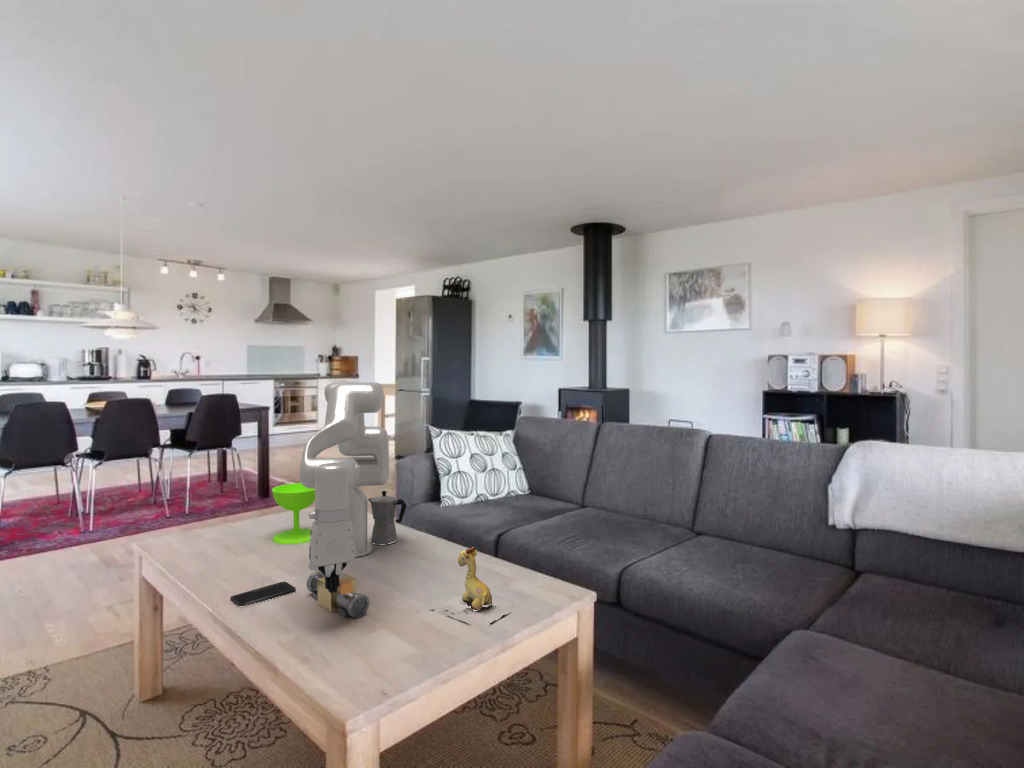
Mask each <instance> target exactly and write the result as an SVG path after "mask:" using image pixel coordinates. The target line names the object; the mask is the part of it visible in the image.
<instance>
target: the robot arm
mask: <svg viewBox="0 0 1024 768" xmlns="http://www.w3.org/2000/svg"><path fill="white" fill-rule="evenodd" d="M323 392H324V398H325V401H326V403H327V405H326V412H325V420H324V426H322V427H321V428H320V429H318V430H317V431H315V433H314V434H313V435H312V436H311V437H310V438H309V439H308V441H306V443H305V445H304V447H303V450H302V454H301V459H300V460H301V461H300V466H299V481H300V483H301V484H302V485H303V486H304V487H306V488H315V501H314V503H315V504H314V505H315V508H314V510H313V511H312V512H309V513H308V518H309V519H313V520H314V521H312V525H311V534H310V542H309V547H308V557H309V563H308V567H307V568H308V569H309V570H310V571H315V572H318V571H320V572H322V573H323V574H324V575H325V588H326V589H328V591H329V592H330V593H332V592H337V587H339V575H340V574H341V571H342V570H343V571H344V569H345V568H346V567H347V566H350V565H352V564H354V563H355V561H356V560H355V558H360V557H359V556H361V557H364V556H366V554H367V555H369V554H371V552H372V551H373V546H372V544H369V543H368V497H367V495H366V493H365V492H364V491H363V490H362V488H361V487H365V486H373V487H374V486H382V485H385V484H387V483H388V481H389V478H390V449H389V447H390V442H389V436H388V434H389V433H388V432H387V430H386V429H385V428H384V427H382V426H366V425H365V414H375V413H376V414H377V413H379V412H380V410H381V409H382V406H383V404H384V398H385V394H384V388H383V386H382V385H381V383H379V382H365V381H363V382H359V381H358V382H353V381H352V382H351V381H349V382H348V381H345V382H344V381H340V382H331V383H328V384H327V385H325V387H324V391H323ZM335 446H338V452H340V454H341V455H343V456H346V457H318V455H320V454H321V453H322V452H324V451H325V450H328V449H329V448H333V447H335ZM332 565H333V567H332V568H333V571H332V573H331V571H330V569H331V566H332Z"/></svg>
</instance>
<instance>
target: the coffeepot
mask: <svg viewBox="0 0 1024 768" xmlns="http://www.w3.org/2000/svg"><path fill="white" fill-rule="evenodd" d="M381 493H382V495H380V496H375V497H373V496H372V497H369V498H367V501H369V503H370V505H371V506H370V507H371V513H372V519H373V521H374V524H373V526H372V527H373V528H372V534H371V539H370V543H371V542H372V543H375V544H388V543H391V542H394V541H396V539H397V540H398V534H397V530H396V529H397V528H396V523H398V524H400V523H402V522H403V519H404V515H405V512H406V509H407V503H406V502H405V501H404V499H401V498H400V499H399V498H397V497H395V496H392V495H391V496H390V495H387V493H388V492H387V491H386V490H383V491H381ZM397 505H399V506H401V507H400V513H399V514H398V519H395V517H396V511H397ZM395 522H396V523H395ZM372 543H371V544H372Z"/></svg>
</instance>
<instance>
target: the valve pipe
mask: <svg viewBox="0 0 1024 768" xmlns="http://www.w3.org/2000/svg"><path fill="white" fill-rule="evenodd" d="M343 575H344V576H345V578H350V580H351V581H352V583H353V593H349V594H344V595H341V593H340V591H339V590H338V587H337V592H332V593H330V592H329V591H328V589H326V588H325V575H324V574H323V573H322V572H321V571H315V572H313V573H311V575H310V576H309V577H308V578H307V581H306V588H307V590H308V591H309V592H310V593H311V598H312V597H313V598H312V599H314V598H315V599H314V600H315V601H317V600H318V601H317V605H318V604H319V605H318V606H320V605H321V606H320V607H322V608H323V607H324V608H323V609H325V610H326V609H327V610H326V611H328V610H329V611H328V612H330V613H333V611H334V612H336V611H335V610H337V611H338V615H340V614H341V616H342V617H343V616H344V618H348V617H351V618H354V619H357V618H358V619H359V618H362V617H363V616H364V615H365V614H366V613H367V612H368V610H369V607H370V599H369V597H368V596H367V595H366V594H363V593H357V582H356V581H357V578H355V577H352V576H351V575H349V574H347V573H345V572H343ZM347 616H348V617H347Z"/></svg>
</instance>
